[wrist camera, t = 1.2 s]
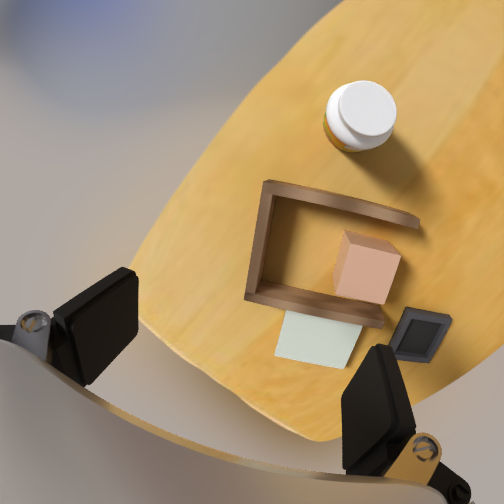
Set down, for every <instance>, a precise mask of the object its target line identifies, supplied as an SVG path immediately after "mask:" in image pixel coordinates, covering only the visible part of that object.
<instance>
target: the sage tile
mask: <svg viewBox="0 0 504 504" xmlns="http://www.w3.org/2000/svg"><path fill="white" fill-rule="evenodd" d="M362 327H363V326H361V325H356V324H351V323H345V322H340V321H335V320H330V319H325V318H320V317H316V316H311V315H306V314H302V313H297V312H293V311H288V310H286V312H285V316H284V320H283V324H282V328H281V331H280V335H279V339H278V343H277V346H276V350H275V354H274V356H278V357H283V358H287V359H292V360H297V361H302V362H307V363H312V364H317V365H323V366H328V367H334V368H340V369H344V367H345V365H346V363H347V361H348V359H349V357H350V354H351V352H352V350H353V348H354V346H355V343H356V341H357V339H358V337H359V334H360V332H361V329H362Z"/></svg>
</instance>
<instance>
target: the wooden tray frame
mask: <svg viewBox="0 0 504 504" xmlns="http://www.w3.org/2000/svg"><path fill="white" fill-rule="evenodd" d="M276 195H277V196H282V197H287V198H292V199H297V200H302V201H307V202H311V203H316V204H320V205H325V206H329V207H334V208H338V209H342V210H346V211H350V212H354V213H358V214H362V215H366V216H370V217H374V218H378V219H382V220H386V221H389V222H393V223H397V224H400V225H404V226H407V227H411V228H414V229H418V227H419V223H420V219H419V218H417V217H416V216H414V215H412V214H410V213H408V212H405V211H402V210H398V209H395V208H391V207H388V206H384V205H380V204H377V203H373V202H369V201H365V200H362V199H358V198H354V197H350V196H345V195H341V194H337V193H333V192H328V191H324V190H319V189H315V188H310V187H305V186H301V185H296V184H291V183H286V182H280V181H275V180H270V179H269V180H266V181H263V186H262V192H261V198H260V204H259V210H258V216H257V222H256V229H255V235H254V241H253V247H252V253H251V259H250V265H249V271H248V277H247V284H246V290H245V296H244V300H246V301H250V302H254V303H258V304H262V305H266V306H271V307H275V308H279V309H284V310H288V311H293V312H297V313H302V314H306V315H311V316H316V317H320V318H325V319H330V320H335V321H340V322H345V323H351V324H356V325H361V326H367V327H372V328H378V329H382V328H383V325H384V323H385V320H384V317H383V314H382V312H381V309H380V307H379V305H375V304H370V303H365V302H360V301H355V300H350V299H346V298H341V297H336V296H331V295H327V294H322V293H317V292H313V291H308V290H304V289H299V288H295V287H290V286H286V285H281V284H277V283H273V282H268V281H264V280H261V278H262V273H263V267H264V262H265V257H266V251H267V246H268V240H269V235H270V229H271V224H272V218H273V212H274V207H275V201H276Z"/></svg>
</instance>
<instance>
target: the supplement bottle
mask: <svg viewBox="0 0 504 504" xmlns="http://www.w3.org/2000/svg"><path fill="white" fill-rule="evenodd" d="M396 116H397V109H396V104H395V102H394V99H393V98H392V96H391V95H390V93H389V92H388V91H387V90H386V89H385V88H384V87H382V86H381V85H379V84H377V83H375V82H371V81H356V82H353V83H349V84H346V85H343V86H341V87H339V88H338V89H337V90H336V91H335V92H334V93H333V94H332V95H331V97H330V99H329V101H328V104H327V108H326V112H325V115H324V120H323V128H324V132H325V134H326V137H327V138H328V140H329V141H330V142H331V143H332V144H333V145H334V146H335V147H337V148H338V149H340V150H343V151H346V152H360V151H364V150H368V149H372V148H375V147H377V146H379V145H381V144H383V143H384V142H385V141H386V140H387V139H388V138H389V137H390V135H391V133H392V131H393V128H394V123H395V121H396Z"/></svg>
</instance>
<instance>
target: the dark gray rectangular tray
mask: <svg viewBox="0 0 504 504" xmlns="http://www.w3.org/2000/svg"><path fill="white" fill-rule="evenodd" d="M451 322H452V318H451V317H450V315H447V314H442V313H436V312H431V311H426V310H421V309H415V308H410V307H405V310H404V312H403V314H402V317H401V319H400V321H399V323H398V326H397V328H396V330H395V332H394V334H393V336H392V338H391V340H390V342H389V344H388V346H391V347H392V348H393V351H394V354H395V357H396V360H403V361H411V362H421V363H429V362H430V360H431V359H432V357H433V355H434V354H435V352H436V350H437V348H438V347H439V345H440V343H441V341H442V339H443V337H444V336H445V334H446V332H447V330H448V328H449V326H450V324H451Z"/></svg>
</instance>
